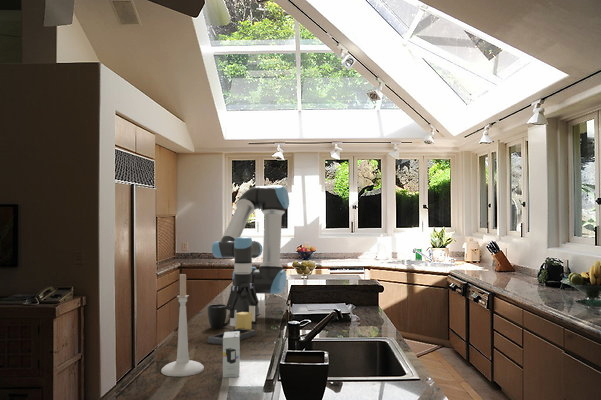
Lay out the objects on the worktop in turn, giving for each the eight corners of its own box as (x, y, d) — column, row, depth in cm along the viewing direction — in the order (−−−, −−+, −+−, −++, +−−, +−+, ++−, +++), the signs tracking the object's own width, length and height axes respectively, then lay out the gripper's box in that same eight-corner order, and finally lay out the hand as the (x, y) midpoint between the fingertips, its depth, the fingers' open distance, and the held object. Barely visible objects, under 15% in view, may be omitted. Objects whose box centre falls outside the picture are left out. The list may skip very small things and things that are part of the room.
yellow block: (242, 328, 221) (241, 311, 221) (251, 329, 219) (251, 312, 219) (235, 330, 217) (234, 313, 217) (244, 331, 214) (244, 314, 215)
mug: (232, 329, 217) (232, 307, 218) (205, 329, 219) (205, 307, 219) (237, 326, 226) (237, 304, 226) (210, 325, 227) (210, 304, 227)
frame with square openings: (239, 332, 211) (239, 327, 211) (256, 334, 207) (256, 329, 207) (207, 342, 194) (207, 337, 194) (225, 345, 190) (225, 339, 190)
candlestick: (168, 364, 164) (168, 271, 166) (207, 364, 164) (207, 270, 165) (155, 376, 152) (156, 275, 153) (198, 376, 151) (198, 274, 153)
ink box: (224, 369, 158) (224, 331, 159) (240, 369, 159) (239, 330, 159) (222, 377, 150) (222, 337, 150) (239, 377, 150) (238, 336, 151)
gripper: (252, 270, 231) (252, 318, 230) (217, 275, 210) (217, 327, 208) (266, 271, 228) (266, 319, 226) (232, 275, 206) (232, 329, 205)
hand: (242, 323), depth 217 cm, fingers open, 13 cm apart
